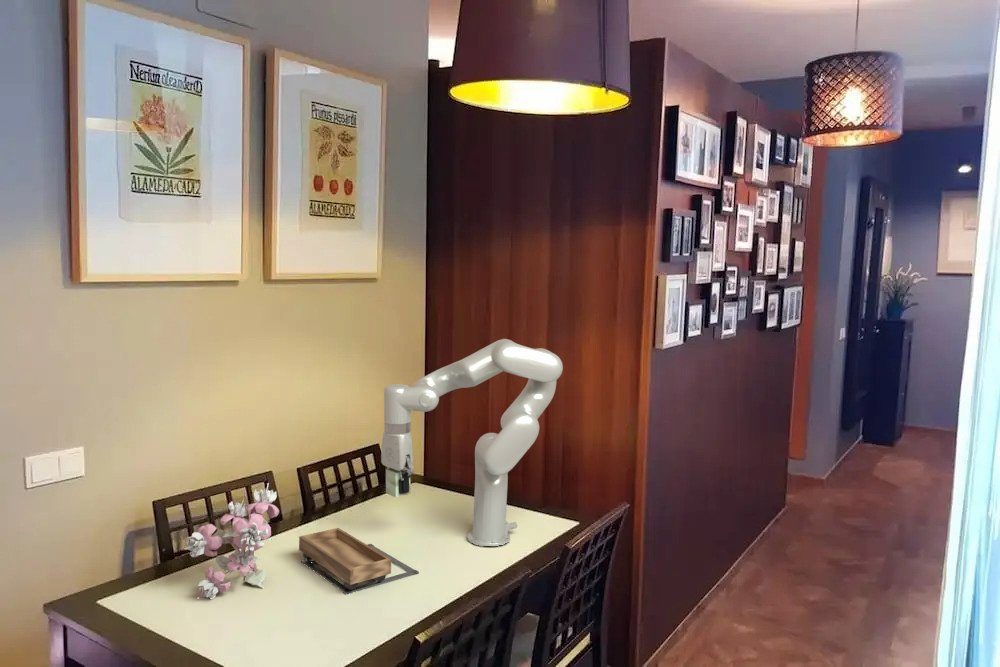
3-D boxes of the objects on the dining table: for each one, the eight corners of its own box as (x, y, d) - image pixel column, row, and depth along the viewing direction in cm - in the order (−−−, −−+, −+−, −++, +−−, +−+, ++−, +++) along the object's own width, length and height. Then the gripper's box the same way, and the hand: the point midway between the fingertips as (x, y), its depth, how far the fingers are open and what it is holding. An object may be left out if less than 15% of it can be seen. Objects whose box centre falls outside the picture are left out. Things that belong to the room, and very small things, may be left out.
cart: (337, 548, 214) (338, 527, 213) (390, 582, 194) (391, 559, 193) (298, 558, 206) (299, 536, 206) (350, 594, 186) (350, 570, 186)
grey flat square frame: (370, 545, 219) (370, 543, 219) (418, 573, 202) (418, 571, 202) (300, 562, 205) (300, 560, 205) (345, 594, 187) (346, 592, 187)
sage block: (400, 489, 224) (400, 466, 223) (410, 493, 220) (410, 469, 220) (386, 493, 221) (385, 469, 220) (395, 497, 217) (395, 473, 216)
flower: (189, 562, 198) (177, 491, 185) (279, 545, 206) (275, 476, 193) (191, 627, 183) (179, 554, 169) (289, 606, 190) (285, 535, 177)
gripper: (370, 424, 223) (371, 486, 225) (403, 435, 210) (404, 500, 212) (392, 421, 227) (392, 481, 229) (426, 431, 215) (426, 495, 217)
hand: (398, 489), depth 221 cm, fingers closed on sage block, 5 cm apart
